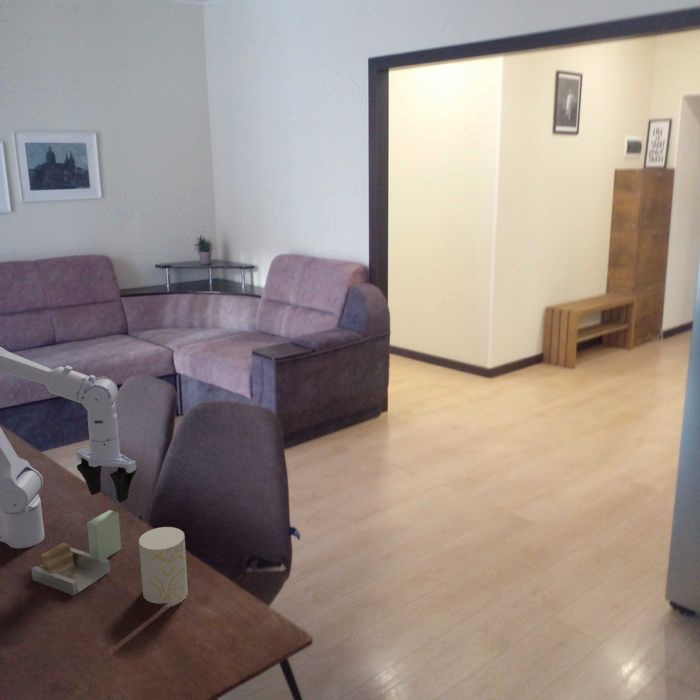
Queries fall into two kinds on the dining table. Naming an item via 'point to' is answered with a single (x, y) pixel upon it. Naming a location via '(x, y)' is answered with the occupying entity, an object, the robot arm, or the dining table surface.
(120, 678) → the dining table surface
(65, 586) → the rack
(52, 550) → the offcut stack
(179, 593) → the cup
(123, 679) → the dining table surface
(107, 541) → the sage green tall pillar
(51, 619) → the dining table surface
